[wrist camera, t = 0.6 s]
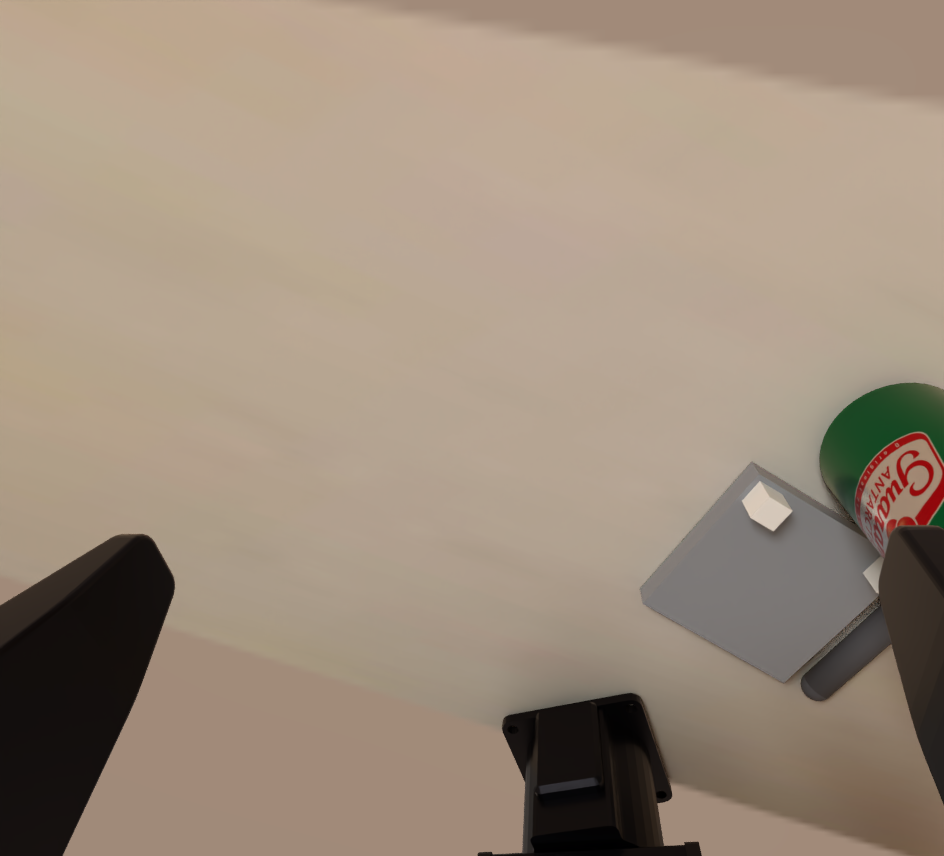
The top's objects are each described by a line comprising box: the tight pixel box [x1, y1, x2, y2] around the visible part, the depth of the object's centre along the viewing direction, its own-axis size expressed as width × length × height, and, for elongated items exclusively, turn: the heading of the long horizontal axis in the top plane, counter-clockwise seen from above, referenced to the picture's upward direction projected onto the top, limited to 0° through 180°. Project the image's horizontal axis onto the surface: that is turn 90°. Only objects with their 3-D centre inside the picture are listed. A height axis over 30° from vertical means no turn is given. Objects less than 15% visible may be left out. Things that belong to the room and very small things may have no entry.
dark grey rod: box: [801, 605, 891, 701], centre depth 28 cm, size 7×1×1 cm, turn 150°
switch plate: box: [640, 462, 884, 683], centre depth 26 cm, size 7×7×2 cm
